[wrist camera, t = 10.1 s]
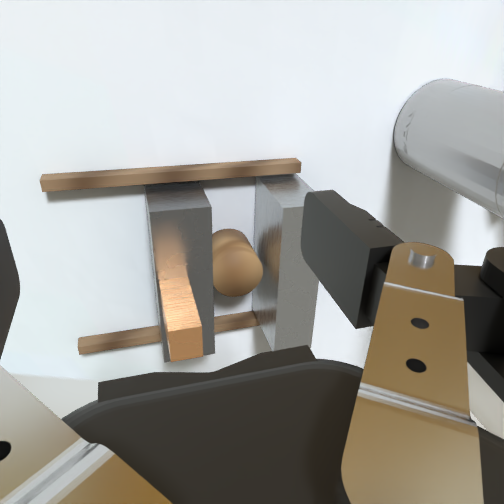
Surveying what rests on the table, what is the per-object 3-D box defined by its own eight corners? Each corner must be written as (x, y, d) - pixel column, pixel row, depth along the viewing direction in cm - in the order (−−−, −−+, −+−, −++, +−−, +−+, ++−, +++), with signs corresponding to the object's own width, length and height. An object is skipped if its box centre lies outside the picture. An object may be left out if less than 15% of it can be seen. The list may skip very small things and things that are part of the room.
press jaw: (198, 181, 41) (231, 246, 30) (203, 317, 49) (231, 408, 38) (144, 185, 40) (157, 255, 29) (158, 324, 48) (173, 420, 37)
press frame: (295, 157, 43) (301, 162, 42) (284, 312, 52) (288, 320, 51) (42, 174, 37) (39, 180, 36) (80, 345, 47) (79, 354, 45)
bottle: (411, 338, 61) (621, 572, 36) (379, 316, 57) (589, 563, 32) (453, 297, 59) (704, 514, 34) (423, 271, 55) (682, 495, 30)
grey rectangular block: (294, 172, 44) (328, 203, 37) (284, 302, 51) (310, 347, 45) (256, 175, 43) (283, 208, 36) (252, 307, 50) (273, 354, 44)
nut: (249, 226, 45) (264, 249, 41) (248, 267, 48) (262, 293, 44) (201, 231, 44) (211, 255, 40) (203, 273, 46) (212, 300, 42)
